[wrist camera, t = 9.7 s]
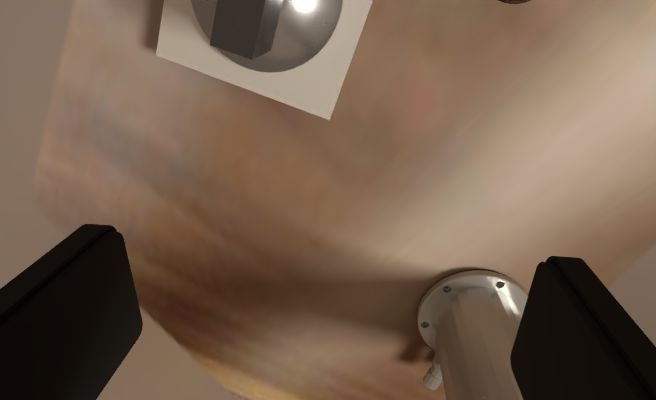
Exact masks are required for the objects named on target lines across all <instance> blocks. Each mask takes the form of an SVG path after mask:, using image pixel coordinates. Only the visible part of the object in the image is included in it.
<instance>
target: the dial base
mask: <svg viewBox="0 0 656 400" xmlns="http://www.w3.org/2000/svg"><path fill="white" fill-rule="evenodd" d="M372 1H373V0H343V7H342V11H341V15H340V19H339V21H338V24H337V27H336V29H335V31H334V33H333V35H332V37H331V38H330V39H329V41H328V42H327V44H326V45H325V46H324V47H323V48H322V50H321V51H320V52H319V53H318V54H317V55H315V56H314V57H313V58H312V59H311V60H309V61H307V62H306V63H304V64H303V65H301V66H298V67H296V68H294V69H291V70H287V71H283V72H270V73H266V72H259V71H254V70H251V69H247V68H245V67H243V66H240V65H238V64H236V63H235V62H233V61H231V60H230V59H228V58H227V57H226V56H224V55H223V54H222V53H221V52H220V51H219V50H218V49H217V48H215V47H213V46H210V40H209V39H208V38H207V36H206V35H205V33H204V32H203V30H202V28H201V27H200V25H199V23H198V21H197V18H196V16H195V13H194V10H193V7H192V3H191V0H164V4H163V11H162V18H161V25H160V31H159V38H158V45H157V52H156V56H159V57H162V58H164V59H167V60H170V61H172V62H175V63H178V64H180V65H183V66H186V67H188V68H191V69H194V70H196V71H199V72H202V73H204V74H207V75H210V76H212V77H215V78H218V79H221V80H223V81H226V82H229V83H231V84H234V85H237V86H239V87H242V88H245V89H247V90H250V91H253V92H255V93H258V94H261V95H263V96H266V97H269V98H271V99H274V100H277V101H279V102H282V103H285V104H288V105H290V106H293V107H296V108H298V109H301V110H304V111H306V112H309V113H312V114H314V115H317V116H320V117H322V118H325V119H328V120H330V117H331V115H332V112H333V109H334V106H335V104H336V101H337V98H338V95H339V93H340V90H341V87H342V84H343V81H344V79H345V76H346V73H347V70H348V68H349V65H350V62H351V59H352V57H353V54H354V51H355V48H356V46H357V43H358V40H359V37H360V35H361V32H362V29H363V26H364V24H365V21H366V18H367V15H368V12H369V10H370V7H371V4H372Z"/></svg>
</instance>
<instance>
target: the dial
mask: <svg viewBox="0 0 656 400" xmlns="http://www.w3.org/2000/svg"><path fill="white" fill-rule="evenodd" d="M191 3H192V7H193V10H194V13H195V16H196V18H197V21H198V23H199V25H200V27H201V28H202V30H203V32H204V33H205V35H206V36H207V38H208V39H209V40H210V46H213V47H215V48H217V49H218V50H219V51H220V52H221V53H222V54H223V55H224V56H226V57H227V58H228V59H230V60H231V61H233V62H235V63H236V64H238V65H240V66H243V67H245V68H247V69H251V70H254V71H259V72H266V73H270V72H283V71H287V70H291V69H294V68H296V67H298V66H301V65H303V64H304V63H306V62H307V61H309V60H311V59H312V58H313V57H314V56H315V55H317V54H318V53H319V52H320V51H321V50H322V48H323V47H324V46H325V45H326V44H327V42H328V41H329V39H330V38H331V37H332V35H333V33H334V31H335V29H336V27H337V24H338V21H339V19H340V15H341V11H342V7H343V0H191Z"/></svg>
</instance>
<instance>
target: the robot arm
mask: <svg viewBox="0 0 656 400" xmlns="http://www.w3.org/2000/svg"><path fill="white" fill-rule="evenodd" d="M417 323H418V328H419V332H420V334H421V336H422V338H423V340H424V341H425V342H426V344H427V345H428V346H429V347H431V348H432V349H433V350H434V353H435V356H434V358H433V365H432V367H430V369H429V370H428V372H427V373H426V375H425V376H424V378H423V383H424V384H425V386H426V387H427V388H429V389H431V390H436V389H437V388H438V387H439V386H440V384H441V383H442V381H443V384H444V390H445V395H446V400H656V347H655V346H654V344H653V343H652V342H651V341H650V340H649V339H648V337H647V336H646V335H645V334H644V333H643V331H642V330H641V329H640V328H639V326H638V325H637V324H636V323H635V322H634V320H633V319H632V318H631V317H630V316H629V315H628V313H627V312H626V311H625V310H624V308H623V307H622V306H621V305H620V304H619V303H618V301H617V300H616V299H615V298H614V297H613V295H612V294H611V293H610V292H609V291H608V289H607V288H606V287H605V286H604V285H603V283H602V282H601V281H600V280H599V279H598V277H597V276H596V275H595V274H594V273H593V271H592V270H591V269H590V268H589V267H588V265H587V264H586V263H585V262H584V261H583V260H582V259H580V258H572V257H558V256H551V257H549V258H548V259H547V260H546V262H541V263H539V264H538V266H537V268H536V272H535V275H534V278H533V282H532V285H531V288H530V292H529V295H527V294H526V292H525V290H524V289H523V288H522V287H521V286H520V285H519V284H518V283H517V282H515V281H514V280H512V279H511V278H509V277H507V276H505V275H502V274H500V273H496V272H491V271H482V270H474V271H464V272H460V273H456V274H453V275H451V276H448V277H446V278H444V279H442V280H441V281H439V282H437V283H436V284H434V285H433V286H432V287H431V288H430V289H429V290H428V291H427V292H426V294H425V295H424V296H423V298H422V299H421V302H420V304H419V306H418V311H417ZM141 331H142V317H141V313H140V309H139V304H138V300H137V295H136V291H135V287H134V282H133V278H132V273H131V269H130V265H129V260H128V256H127V251H126V247H125V242H124V238H123V236H122V234H121V233H119V232H117V231H116V229H115V228H114V227H113V226H110V225H96V224H85V225H83V226H81V227H80V228H78V229H77V230H76V231H75V232H73V233H72V234H71V235H69V236H68V237H67V238H66V239H64V240H63V241H62V242H60V243H59V244H58V245H56V246H55V247H54V248H53V249H51V250H50V251H49V252H48V253H46V254H45V255H44V256H42V257H41V258H40V259H38V260H37V261H36V262H35V263H33V264H32V265H31V266H29V267H28V268H27V269H26V270H24V271H23V272H22V273H20V274H19V275H18V276H17V277H15V278H14V279H13V280H11V281H10V282H9V283H7V284H6V285H5V286H4V287H2V288H1V289H0V400H96V399H97V398H98V396H99V395H100V393H101V392H102V390H103V389H104V387H105V386H106V384H107V383H108V381H109V380H110V379H111V377H112V376H113V374H114V373H115V371H116V370H117V368H118V367H119V365H120V364H121V362H122V361H123V360H124V358H125V357H126V355H127V354H128V352H129V351H130V349H131V348H132V347H133V345H134V344H135V342H136V341H137V339H138V338H139V336H140V334H141Z"/></svg>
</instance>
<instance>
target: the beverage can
mask: <svg viewBox="0 0 656 400" xmlns="http://www.w3.org/2000/svg"><path fill="white" fill-rule="evenodd" d="M499 1H502V2H504V3H509V4H519V3H525V2H528V1H530V0H499Z"/></svg>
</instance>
